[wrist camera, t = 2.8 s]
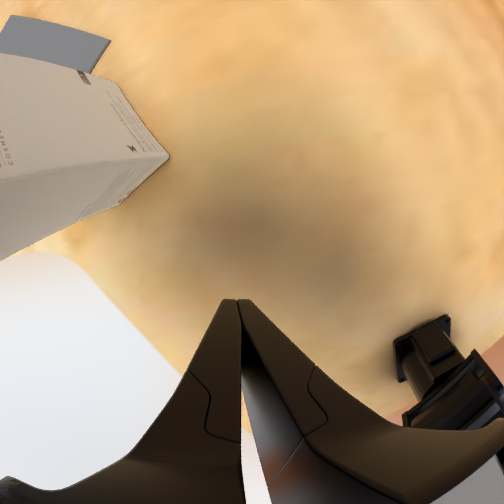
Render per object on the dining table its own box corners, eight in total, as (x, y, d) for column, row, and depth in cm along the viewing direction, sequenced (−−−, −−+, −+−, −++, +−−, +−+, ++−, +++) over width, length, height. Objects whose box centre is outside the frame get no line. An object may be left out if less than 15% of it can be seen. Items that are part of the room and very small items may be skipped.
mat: (111, 40, 14) (109, 39, 14) (40, 188, 19) (38, 189, 18) (12, 15, 11) (11, 14, 11) (-34, 119, 15) (-35, 119, 15)
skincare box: (173, 157, 18) (-13, 191, 4) (116, 209, 19) (-43, 302, 5) (113, 78, 16) (-49, 37, 2) (65, 132, 17) (-91, 152, 3)
